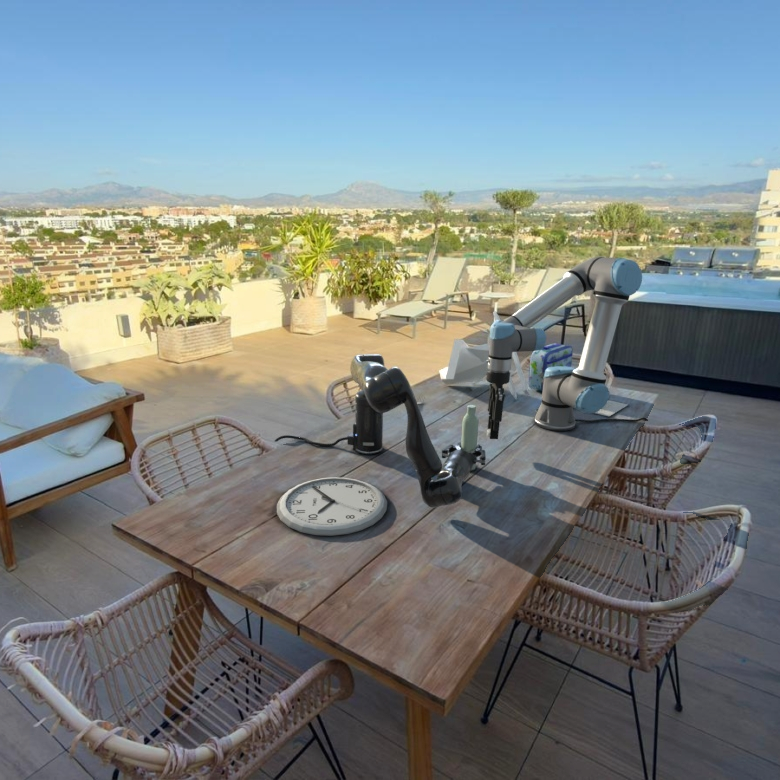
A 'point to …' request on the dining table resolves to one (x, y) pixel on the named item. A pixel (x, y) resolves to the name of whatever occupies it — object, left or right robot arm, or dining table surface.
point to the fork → (420, 400)
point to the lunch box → (547, 362)
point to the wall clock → (331, 506)
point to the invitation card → (611, 408)
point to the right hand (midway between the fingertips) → (492, 436)
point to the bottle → (470, 430)
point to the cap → (488, 432)
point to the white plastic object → (475, 365)
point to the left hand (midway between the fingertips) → (470, 445)
